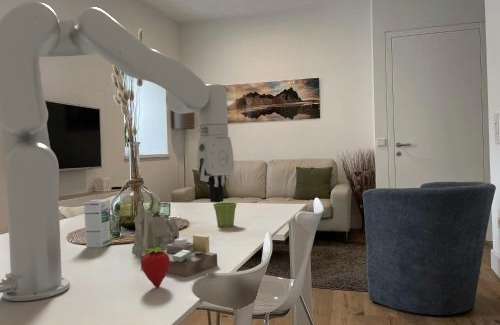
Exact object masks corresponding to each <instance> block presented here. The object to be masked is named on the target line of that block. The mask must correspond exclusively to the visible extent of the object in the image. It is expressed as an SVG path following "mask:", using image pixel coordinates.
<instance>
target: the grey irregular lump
mask: <svg viewBox="0 0 500 325" xmlns="http://www.w3.org/2000/svg"><path fill="white" fill-rule="evenodd" d="M137 206H138V207H137V214H136V215H135V217H134V218H133V222H134V227H135V230H134V233H133V234H134V237H133V239H134V242H133V245H132V248H131V250H132V251H131V253H132V254H135V255H138V256H140V257H141V255H143V254H147V253H148V252H150V251H142V250H145V249H154V250H155V248H157V247H159V248H160V249H165V248H167V245H169V244H173V243H175V239H178V238H180V233H179V231H180V228H179V226H178V223H177V222H176V220H169V219H166V215H164V214H162V215H160V216H157V217H154V216H153V214H152V211H151V210H148V209H145V208H144V205H143V203H142V202H141V201H139V202H137ZM152 241H153V242H154V243H155V244H156V245H157V246H156V245H155V244H154V243H153V242H152Z"/></svg>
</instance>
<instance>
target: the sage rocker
mask: <svg viewBox="0 0 500 325" xmlns="http://www.w3.org/2000/svg"><path fill="white" fill-rule="evenodd" d="M191 256H192V254H191V251H187V250H182V251H180V252H178V253H176V254H175V255H173V260H174V261H179V262H182V261H184V260H185V259H186V257H191Z"/></svg>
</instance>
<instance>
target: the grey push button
mask: <svg viewBox="0 0 500 325" xmlns="http://www.w3.org/2000/svg"><path fill="white" fill-rule="evenodd" d="M187 242H188V238H186V237H179V238H178V239H175V246H179V247H182V246H185V245H187Z"/></svg>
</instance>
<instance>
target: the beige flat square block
mask: <svg viewBox="0 0 500 325" xmlns="http://www.w3.org/2000/svg"><path fill="white" fill-rule="evenodd" d="M192 243H193V251H196V252H202V253H208V252H210V236H209V235H202V234H193V235H192Z"/></svg>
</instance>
